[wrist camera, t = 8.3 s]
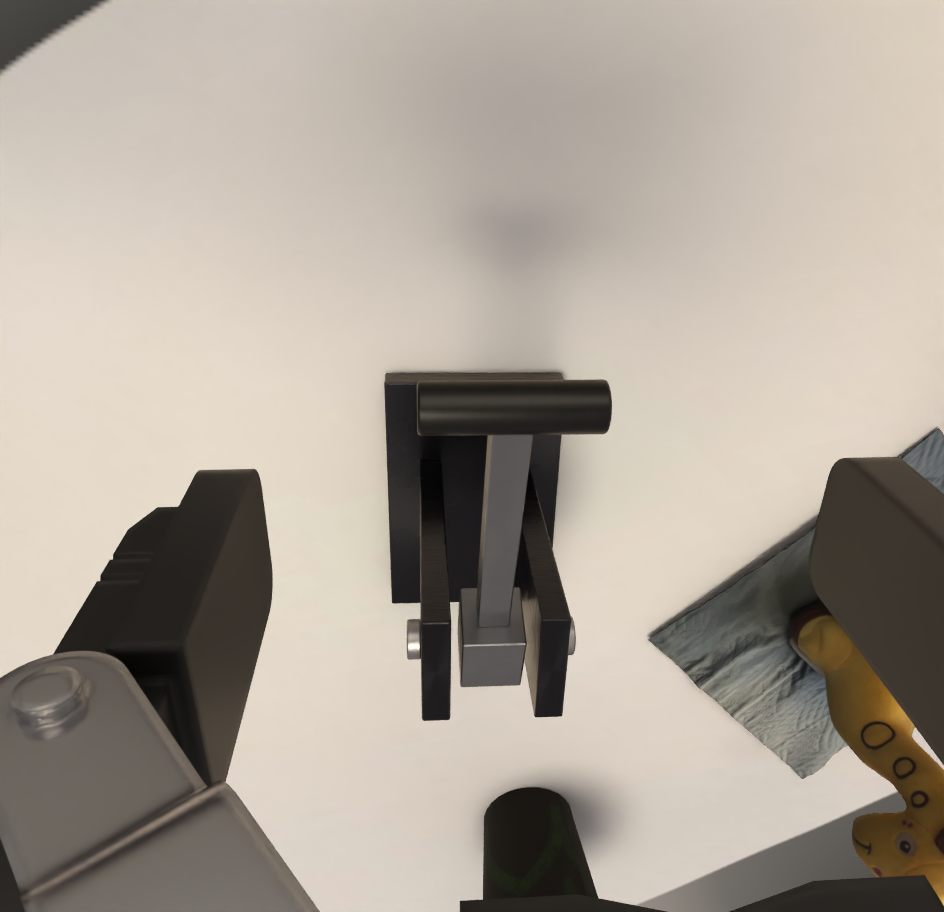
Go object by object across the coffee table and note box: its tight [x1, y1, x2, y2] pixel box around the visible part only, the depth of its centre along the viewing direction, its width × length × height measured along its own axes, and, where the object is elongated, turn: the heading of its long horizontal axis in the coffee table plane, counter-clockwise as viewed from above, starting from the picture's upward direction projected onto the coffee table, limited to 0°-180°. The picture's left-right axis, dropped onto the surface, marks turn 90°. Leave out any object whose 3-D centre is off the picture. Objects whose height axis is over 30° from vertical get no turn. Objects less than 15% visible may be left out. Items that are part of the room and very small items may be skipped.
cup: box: [483, 788, 598, 900], centre depth 44 cm, size 8×8×12 cm
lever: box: [417, 380, 612, 687], centre depth 25 cm, size 13×5×2 cm, turn 179°
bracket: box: [384, 373, 576, 721], centre depth 32 cm, size 12×8×13 cm, turn 179°
